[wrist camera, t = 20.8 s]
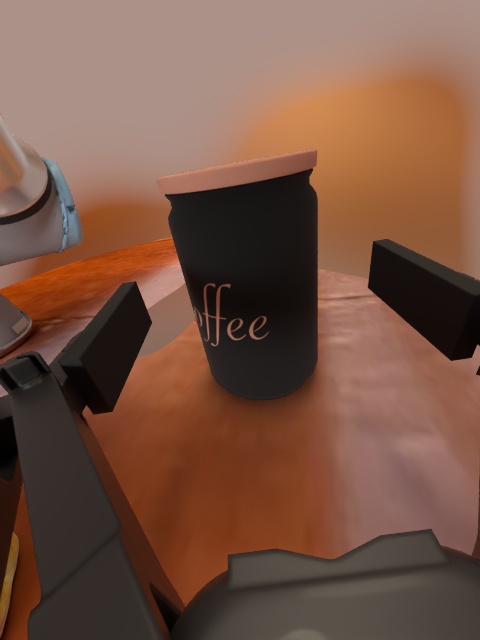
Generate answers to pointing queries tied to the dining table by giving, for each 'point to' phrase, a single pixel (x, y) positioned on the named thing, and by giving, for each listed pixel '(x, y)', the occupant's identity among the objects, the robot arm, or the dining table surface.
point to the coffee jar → (251, 268)
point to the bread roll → (8, 580)
